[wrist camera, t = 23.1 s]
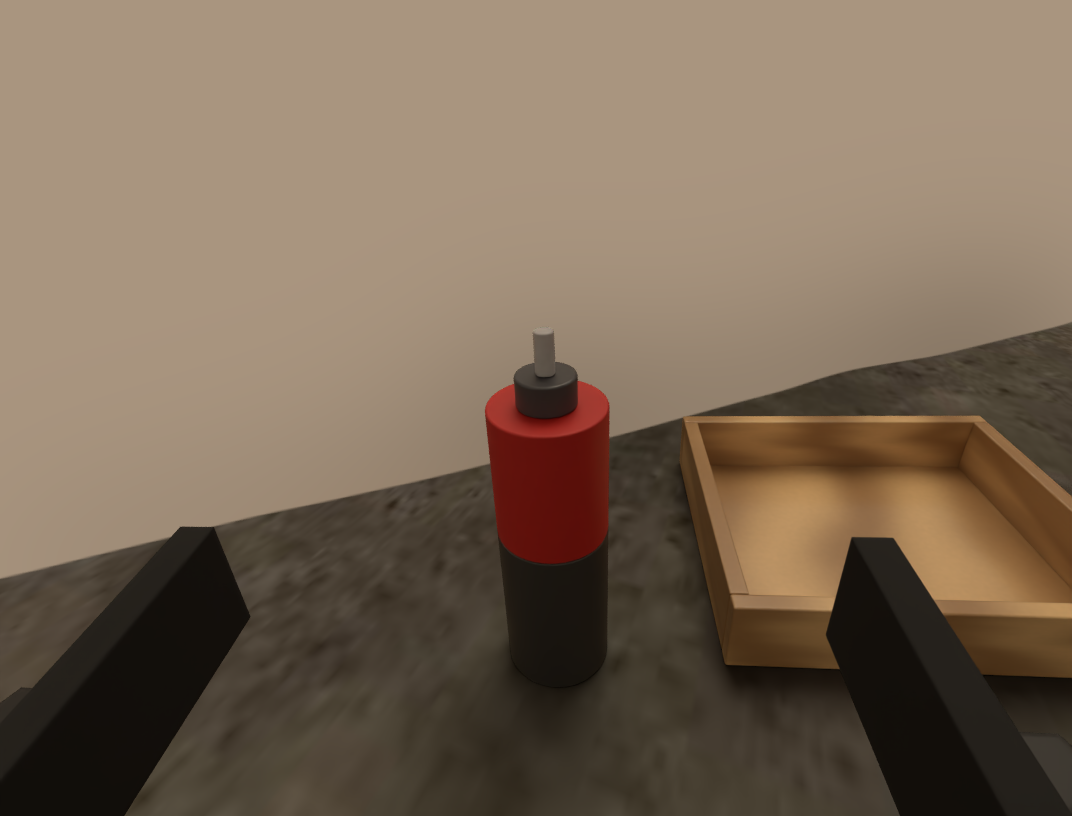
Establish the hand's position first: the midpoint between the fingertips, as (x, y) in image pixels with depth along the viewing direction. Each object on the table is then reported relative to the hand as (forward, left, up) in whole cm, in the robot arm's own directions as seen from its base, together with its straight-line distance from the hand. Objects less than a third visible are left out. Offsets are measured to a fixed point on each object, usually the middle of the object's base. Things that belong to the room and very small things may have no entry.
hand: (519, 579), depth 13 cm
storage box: (-16, -16, -13) cm, 26 cm away
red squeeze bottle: (0, -9, -13) cm, 16 cm away
